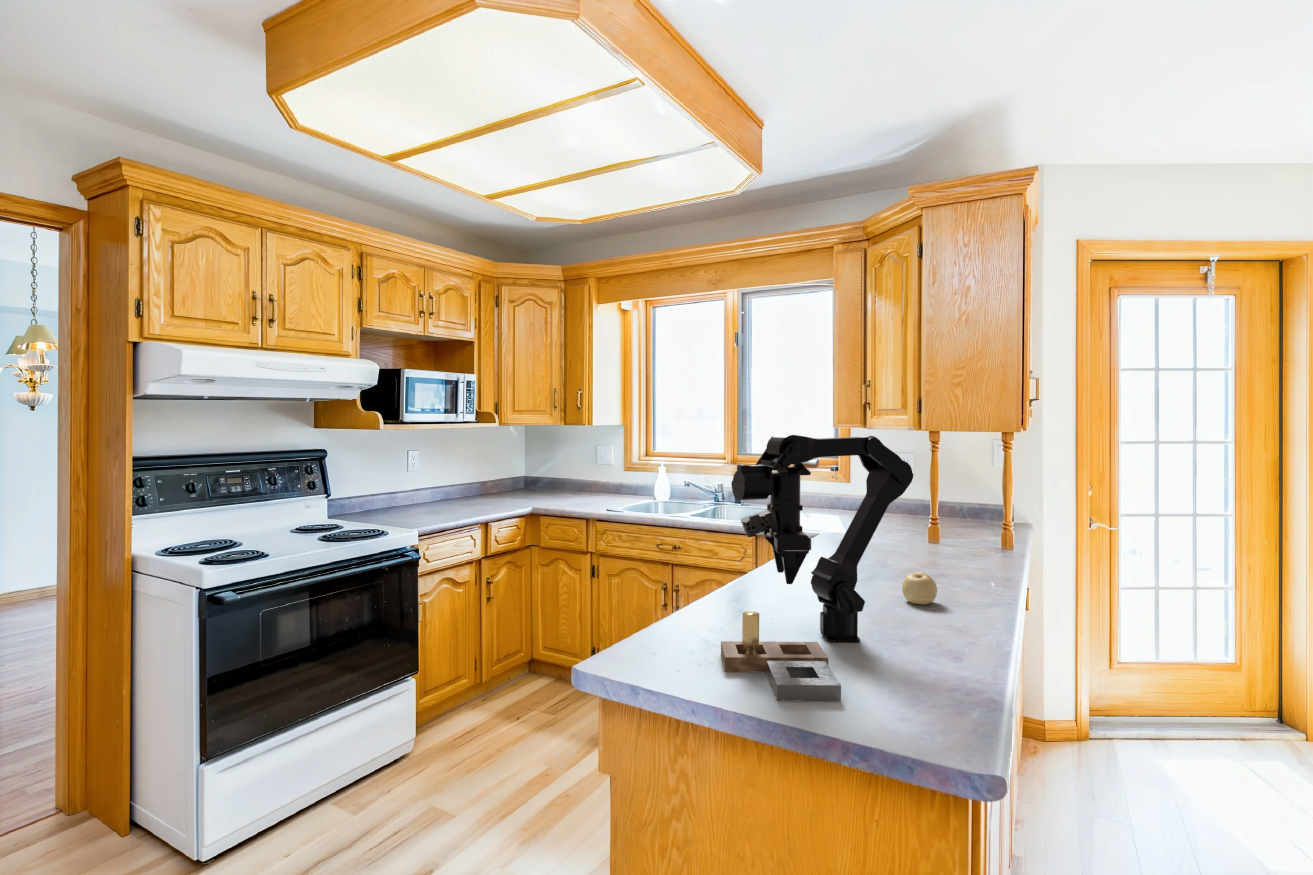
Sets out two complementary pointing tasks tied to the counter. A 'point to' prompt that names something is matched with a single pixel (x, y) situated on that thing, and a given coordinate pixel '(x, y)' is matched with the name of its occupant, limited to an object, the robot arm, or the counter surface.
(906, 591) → the apple
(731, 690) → the counter surface
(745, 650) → the peg
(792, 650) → the rack
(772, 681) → the socket block
